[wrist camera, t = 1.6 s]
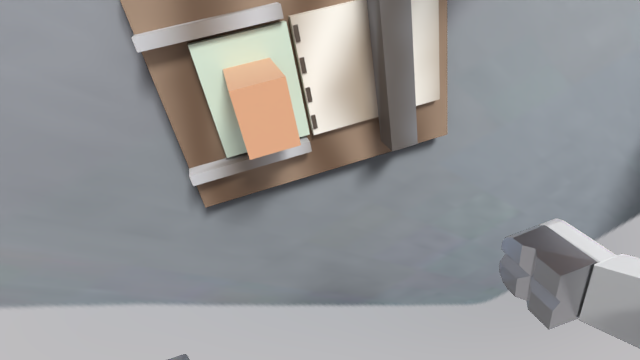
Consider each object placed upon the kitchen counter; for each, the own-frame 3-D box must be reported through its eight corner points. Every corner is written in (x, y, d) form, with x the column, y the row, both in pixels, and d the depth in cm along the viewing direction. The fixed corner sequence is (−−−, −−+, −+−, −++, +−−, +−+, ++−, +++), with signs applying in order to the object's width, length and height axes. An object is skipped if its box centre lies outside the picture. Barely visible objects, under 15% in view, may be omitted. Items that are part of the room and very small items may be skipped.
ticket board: (434, -82, 25) (472, -91, 21) (437, 127, 33) (466, 146, 29) (118, -17, 22) (103, -14, 18) (204, 197, 30) (206, 227, 26)
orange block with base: (284, 20, 24) (306, 33, 19) (307, 131, 28) (331, 164, 23) (187, 43, 23) (186, 63, 18) (226, 154, 27) (232, 194, 22)
